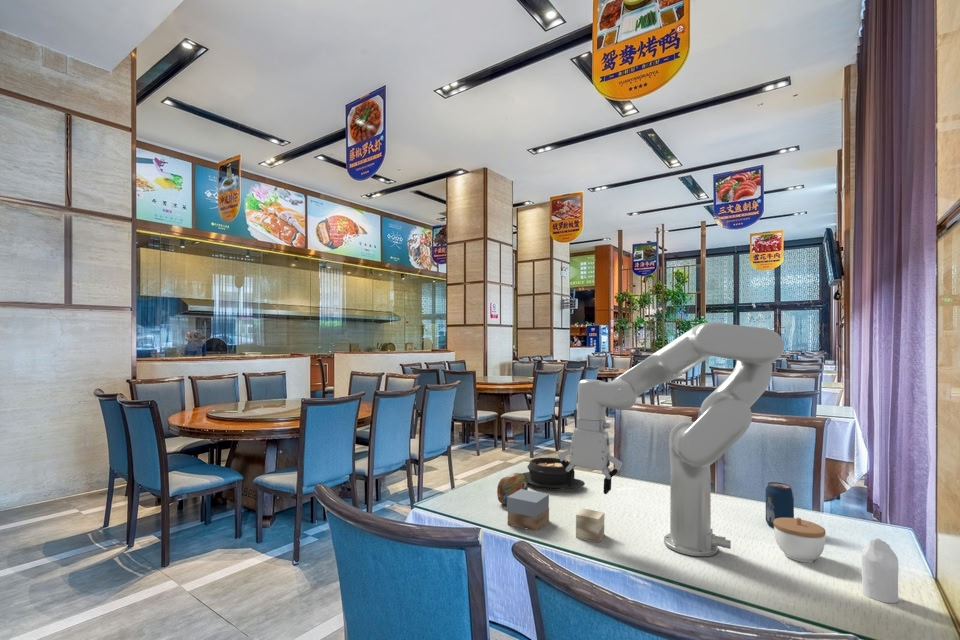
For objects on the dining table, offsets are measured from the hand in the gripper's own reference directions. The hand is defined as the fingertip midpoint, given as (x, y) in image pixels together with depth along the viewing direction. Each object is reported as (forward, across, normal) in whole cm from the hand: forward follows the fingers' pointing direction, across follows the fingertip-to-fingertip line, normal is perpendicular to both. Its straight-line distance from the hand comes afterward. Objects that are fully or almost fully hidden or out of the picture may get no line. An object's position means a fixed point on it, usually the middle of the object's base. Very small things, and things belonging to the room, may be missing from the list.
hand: (588, 489), depth 129 cm
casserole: (+13, +25, -39) cm, 48 cm away
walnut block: (+13, +17, 0) cm, 21 cm away
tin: (+13, +29, -15) cm, 35 cm away
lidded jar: (+11, -49, -15) cm, 52 cm away
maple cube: (+12, -1, 0) cm, 12 cm away
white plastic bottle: (+11, -62, -1) cm, 63 cm away
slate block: (+9, +17, 0) cm, 20 cm away
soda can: (+11, -46, -36) cm, 60 cm away
